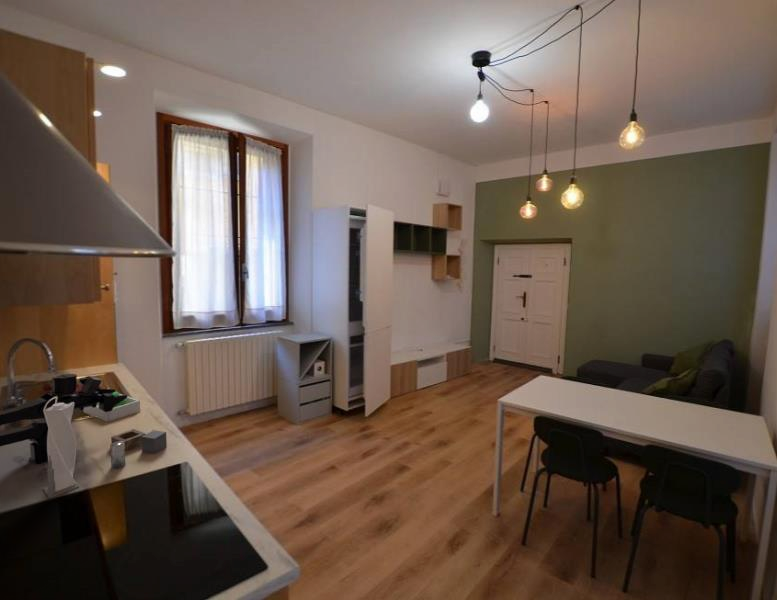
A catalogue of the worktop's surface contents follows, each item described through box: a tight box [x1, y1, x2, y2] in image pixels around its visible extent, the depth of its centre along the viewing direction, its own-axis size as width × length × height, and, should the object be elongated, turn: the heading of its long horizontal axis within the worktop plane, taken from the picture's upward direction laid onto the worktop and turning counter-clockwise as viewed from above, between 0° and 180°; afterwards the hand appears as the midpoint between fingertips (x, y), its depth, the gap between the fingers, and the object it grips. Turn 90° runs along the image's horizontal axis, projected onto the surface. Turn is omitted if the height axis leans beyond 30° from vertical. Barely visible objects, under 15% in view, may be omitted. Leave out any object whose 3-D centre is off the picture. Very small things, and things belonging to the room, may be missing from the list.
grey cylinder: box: [109, 441, 126, 470], centre depth 132 cm, size 4×4×8 cm
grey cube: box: [141, 430, 168, 455], centre depth 144 cm, size 6×6×6 cm
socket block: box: [110, 428, 147, 453], centre depth 146 cm, size 8×8×4 cm
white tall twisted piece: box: [42, 397, 80, 499], centre depth 118 cm, size 8×8×28 cm
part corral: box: [83, 393, 141, 422], centre depth 177 cm, size 14×20×5 cm
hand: (121, 393), depth 156 cm, fingers open, 9 cm apart
